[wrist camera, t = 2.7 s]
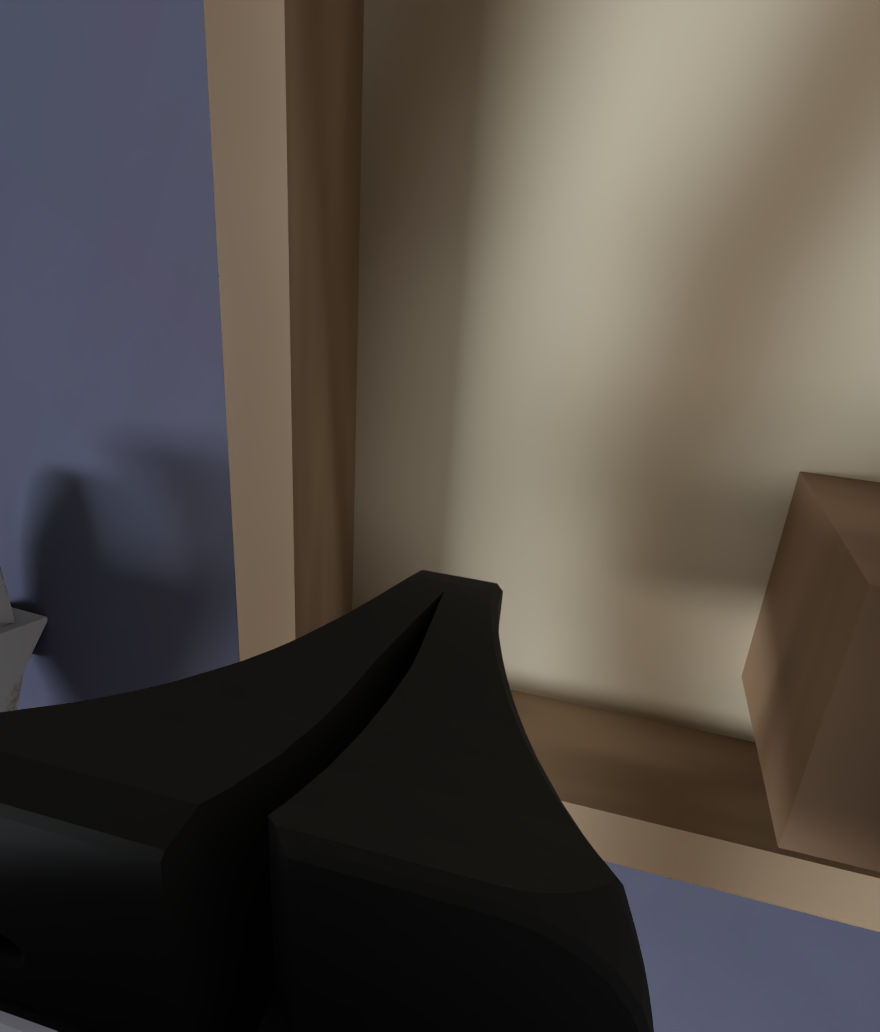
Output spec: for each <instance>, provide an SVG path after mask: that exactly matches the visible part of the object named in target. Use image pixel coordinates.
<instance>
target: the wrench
mask: <svg viewBox="0 0 880 1032" xmlns="http://www.w3.org/2000/svg"><path fill="white" fill-rule="evenodd" d="M46 623H47V617H46V616H42V615H38V614H35V613H31V612H27V611H24V610H20V609H16V608H13V607H11V604H10V601H9V597H8V594H7V590H6V586H5V582H4V578H3V575H2V571H1V567H0V712H7V711H14V710H17V705H18V700H19V695H20V690H21V684H22V679H23V674H24V669H25V667H26V665H27V663H28V661H29V659H30V656H31V654H32V652H33V650H34V648H35V646H36V644H37V642H38V640H39V638H40V636H41V633H42V631H43V629H44V627H45V625H46Z"/></svg>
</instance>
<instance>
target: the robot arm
mask: <svg viewBox="0 0 880 1032" xmlns="http://www.w3.org/2000/svg"><path fill="white" fill-rule="evenodd" d="M502 596H503V591H502V589H501V588H500V587H499V585H498V584H497V583H493V582H487V581H482V580H476V579H471V578H465V577H460V576H454V575H449V574H443V573H438V572H432V571H427V570H421V571H419V572H417V573H415V574H413V575H412V576H410V577H408V578H406V579H405V580H403V581H402V582H400V583H398V584H397V585H395V586H393V587H392V588H390V589H388V590H387V591H385V592H383V593H382V594H380V595H378V596H377V597H375V598H373V599H371V600H370V601H368V602H366V603H365V604H363V605H361V606H359V607H358V608H356V609H354V610H352V611H351V612H349V613H347V614H345V615H343V616H341V617H339V618H337V619H335V620H333V621H331V622H329V623H327V624H326V625H324V626H322V627H320V628H318V629H316V630H314V631H312V632H310V633H308V634H306V635H304V636H302V637H300V638H298V639H295V640H293V641H291V642H289V643H286V644H284V645H282V646H279V647H277V648H275V649H272V650H270V651H267V652H264V653H262V654H259V655H257V656H254V657H251V658H249V659H246V660H243V661H241V662H238V663H235V664H232V665H229V666H225V667H222V668H219V669H215V670H212V671H209V672H205V673H202V674H199V675H195V676H192V677H188V678H185V679H182V680H178V681H175V682H171V683H167V684H163V685H159V686H155V687H150V688H146V689H142V690H137V691H133V692H128V693H123V694H118V695H113V696H108V697H103V698H98V699H92V700H86V701H80V702H74V703H67V704H60V705H52V706H44V707H37V708H29V709H22V710H14V711H7V712H0V1032H654V1029H653V1019H652V1011H651V1004H650V997H649V990H648V984H647V978H646V973H645V967H644V963H643V958H642V954H641V950H640V945H639V941H638V937H637V933H636V929H635V925H634V922H633V918H632V915H631V911H630V907H629V904H628V900H627V897H626V893H625V890H624V886H623V884H622V883H621V882H620V881H619V879H618V878H617V877H616V876H615V874H614V873H613V872H612V871H611V869H610V868H609V867H608V866H607V864H606V863H605V862H604V861H603V859H602V858H601V857H600V856H599V854H598V853H597V852H596V851H595V849H594V848H593V847H592V846H591V844H590V843H589V841H588V840H587V839H586V837H585V836H584V835H583V833H582V832H581V830H580V829H579V827H578V826H577V824H576V823H575V821H574V820H573V818H572V817H571V815H570V814H569V812H568V811H567V809H566V808H565V806H564V805H563V803H562V802H561V800H560V798H559V796H558V794H557V793H556V791H555V789H554V787H553V785H552V784H551V782H550V780H549V778H548V776H547V775H546V773H545V771H544V769H543V767H542V766H541V764H540V762H539V760H538V758H537V756H536V754H535V752H534V750H533V748H532V745H531V743H530V741H529V739H528V737H527V734H526V732H525V730H524V727H523V724H522V722H521V719H520V717H519V714H518V712H517V709H516V706H515V703H514V700H513V697H512V693H511V690H510V686H509V683H508V679H507V675H506V672H505V667H504V663H503V658H502V652H501V645H500V639H499V622H500V614H501V605H502Z"/></svg>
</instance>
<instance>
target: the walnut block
mask: <svg viewBox="0 0 880 1032" xmlns="http://www.w3.org/2000/svg"><path fill="white" fill-rule="evenodd" d="M741 677H742V681H743V686H744V691H745V695H746V700H747V705H748V709H749V714H750V719H751V723H752V728H753V733H754V737H755V742H756V747H757V751H758V756H759V761H760V766H761V770H762V775H763V780H764V784H765V789H766V794H767V798H768V803H769V808H770V812H771V817H772V822H773V826H774V831H775V836H776V840H777V845H778V848H782V849H786V850H791V851H795V852H799V853H803V854H807V855H811V856H815V857H819V858H824V859H828V860H832V861H836V862H840V863H844V864H848V865H853V866H857V867H861V868H865V869H869V870H873V871H877V872H880V482H873V481H866V480H859V479H852V478H844V477H837V476H830V475H823V474H815V473H808V472H801V471H800V472H799V475H798V479H797V482H796V486H795V489H794V493H793V496H792V500H791V503H790V507H789V510H788V514H787V517H786V521H785V524H784V528H783V532H782V535H781V539H780V542H779V546H778V549H777V553H776V556H775V560H774V563H773V567H772V570H771V574H770V577H769V581H768V584H767V588H766V591H765V595H764V598H763V602H762V606H761V609H760V613H759V616H758V620H757V623H756V627H755V630H754V634H753V637H752V641H751V644H750V648H749V651H748V655H747V658H746V662H745V665H744V669H743V672H742V676H741Z"/></svg>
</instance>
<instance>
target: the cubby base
mask: <svg viewBox="0 0 880 1032" xmlns="http://www.w3.org/2000/svg"><path fill="white" fill-rule="evenodd" d="M204 16H205V34H206V53H207V71H208V89H209V107H210V125H211V144H212V162H213V180H214V198H215V216H216V235H217V253H218V271H219V289H220V307H221V326H222V344H223V362H224V380H225V398H226V417H227V435H228V453H229V471H230V490H231V508H232V526H233V544H234V562H235V581H236V599H237V617H238V635H239V653H240V662H241V661H243V660H246V659H249V658H251V657H254V656H257V655H259V654H262V653H264V652H267V651H270V650H272V649H275V648H277V647H279V646H282V645H284V644H286V643H289V642H291V641H293V640H295V639H298V638H300V637H302V636H304V635H306V634H308V633H310V632H312V631H314V630H316V629H318V628H320V627H322V626H324V625H326V624H327V623H329V622H331V621H333V620H335V619H337V618H339V617H341V616H343V615H345V614H347V613H349V612H351V611H352V610H354V609H356V608H358V607H359V606H361V605H363V604H365V603H366V602H368V601H370V600H371V599H373V598H375V597H377V596H378V595H380V594H382V593H383V592H385V591H387V590H388V589H390V588H392V587H393V586H395V585H397V584H398V583H400V582H402V581H403V580H405V579H406V578H408V577H410V576H412V575H413V574H415V573H417V572H419V571H421V570H427V571H432V572H438V573H443V574H449V575H454V576H460V577H465V578H471V579H476V580H482V581H487V582H493V583H497V584H498V585H499V587H500V588H501V589H502V591H503V596H502V605H501V614H500V622H499V639H500V645H501V652H502V658H503V663H504V667H505V672H506V675H507V679H508V683H509V686H510V690H511V693H512V697H513V700H514V703H515V706H516V709H517V712H518V714H519V717H520V719H521V722H522V724H523V727H524V730H525V732H526V734H527V737H528V739H529V741H530V743H531V745H532V748H533V750H534V752H535V754H536V756H537V758H538V760H539V762H540V764H541V766H542V767H543V769H544V771H545V773H546V775H547V776H548V778H549V780H550V782H551V784H552V785H553V787H554V789H555V791H556V793H557V794H558V796H559V798H560V800H561V802H562V803H563V805H564V806H565V808H566V809H567V811H568V812H569V814H570V815H571V817H572V818H573V820H574V821H575V823H576V824H577V826H578V827H579V829H580V830H581V832H582V833H583V835H584V836H585V837H586V839H587V840H588V841H589V843H590V844H591V846H592V847H593V848H594V849H595V851H596V852H597V853H598V854H599V856H600V857H601V858H602V859H603V861H607V862H610V863H614V864H618V865H622V866H626V867H630V868H634V869H638V870H641V871H645V872H649V873H653V874H657V875H661V876H665V877H668V878H672V879H676V880H680V881H684V882H688V883H692V884H696V885H699V886H703V887H707V888H711V889H715V890H719V891H723V892H727V893H730V894H734V895H738V896H742V897H746V898H750V899H754V900H758V901H761V902H765V903H769V904H773V905H777V906H781V907H785V908H789V909H792V910H796V911H800V912H804V913H808V914H812V915H816V916H820V917H823V918H827V919H831V920H835V921H839V922H843V923H847V924H851V925H854V926H858V927H862V928H866V929H870V930H874V931H878V932H880V872H877V871H873V870H869V869H865V868H861V867H857V866H853V865H848V864H844V863H840V862H836V861H832V860H828V859H824V858H819V857H815V856H811V855H807V854H803V853H799V852H795V851H791V850H786V849H782V848H778V845H777V840H776V836H775V831H774V826H773V822H772V817H771V812H770V808H769V803H768V798H767V794H766V789H765V784H764V780H763V775H762V770H761V766H760V761H759V756H758V751H757V747H756V742H755V737H754V733H753V728H752V723H751V719H750V714H749V709H748V705H747V700H746V695H745V691H744V686H743V681H742V677H741V676H742V672H743V669H744V665H745V662H746V658H747V655H748V651H749V648H750V644H751V641H752V637H753V634H754V630H755V627H756V623H757V620H758V616H759V613H760V609H761V606H762V602H763V598H764V595H765V591H766V588H767V584H768V581H769V577H770V574H771V570H772V567H773V563H774V560H775V556H776V553H777V549H778V546H779V542H780V539H781V535H782V532H783V528H784V524H785V521H786V517H787V514H788V510H789V507H790V503H791V500H792V496H793V493H794V489H795V486H796V482H797V479H798V475H799V472H800V471H801V472H808V473H815V474H823V475H830V476H837V477H844V478H852V479H859V480H866V481H873V482H880V0H204Z"/></svg>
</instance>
